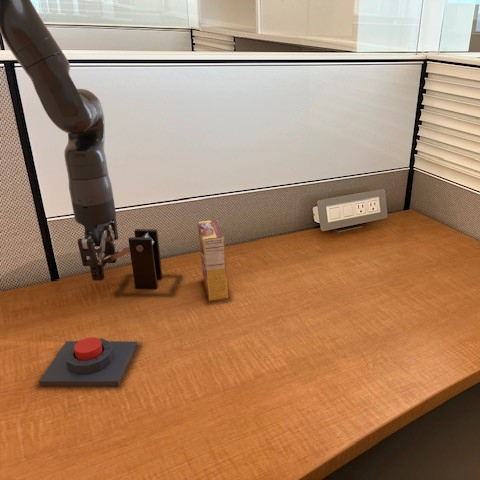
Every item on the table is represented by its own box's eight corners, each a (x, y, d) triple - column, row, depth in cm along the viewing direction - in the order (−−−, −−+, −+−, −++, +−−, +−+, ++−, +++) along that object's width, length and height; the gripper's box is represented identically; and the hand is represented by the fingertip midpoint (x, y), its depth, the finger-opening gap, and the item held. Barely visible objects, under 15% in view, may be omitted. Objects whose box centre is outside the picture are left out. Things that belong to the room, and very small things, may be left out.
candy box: (202, 284, 105) (197, 220, 99) (221, 282, 107) (218, 218, 100) (207, 306, 98) (202, 238, 91) (228, 303, 99) (225, 236, 92)
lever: (99, 273, 98) (92, 264, 97) (108, 261, 103) (101, 252, 102) (149, 249, 96) (142, 239, 95) (156, 238, 101) (149, 229, 100)
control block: (40, 389, 75) (36, 372, 73) (68, 349, 84) (64, 332, 82) (119, 389, 76) (116, 372, 74) (138, 349, 85) (135, 333, 83)
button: (71, 361, 76) (69, 352, 76) (81, 345, 80) (80, 337, 79) (97, 361, 77) (95, 352, 76) (106, 345, 80) (104, 337, 80)
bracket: (117, 297, 99) (108, 242, 94) (129, 278, 106) (121, 225, 101) (171, 298, 100) (165, 243, 94) (179, 279, 107) (174, 226, 101)
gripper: (87, 184, 100) (99, 255, 107) (55, 210, 87) (72, 288, 94) (123, 185, 100) (133, 255, 107) (98, 210, 87) (111, 288, 94)
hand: (105, 270), depth 101 cm, fingers open, 7 cm apart
